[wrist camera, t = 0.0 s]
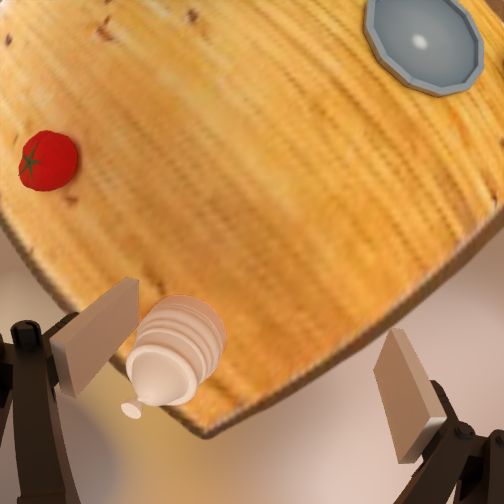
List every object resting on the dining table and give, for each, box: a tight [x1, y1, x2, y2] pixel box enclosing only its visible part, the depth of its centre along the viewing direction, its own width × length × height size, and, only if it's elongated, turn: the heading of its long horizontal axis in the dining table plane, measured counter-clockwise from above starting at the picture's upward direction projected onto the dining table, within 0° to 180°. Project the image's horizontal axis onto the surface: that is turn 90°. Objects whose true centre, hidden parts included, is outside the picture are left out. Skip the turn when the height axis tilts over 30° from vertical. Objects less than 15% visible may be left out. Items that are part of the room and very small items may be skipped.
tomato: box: [18, 130, 77, 191], centre depth 40 cm, size 9×10×8 cm
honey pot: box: [121, 294, 227, 419], centre depth 41 cm, size 13×13×18 cm
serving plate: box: [363, 0, 484, 97], centre depth 31 cm, size 18×18×2 cm
